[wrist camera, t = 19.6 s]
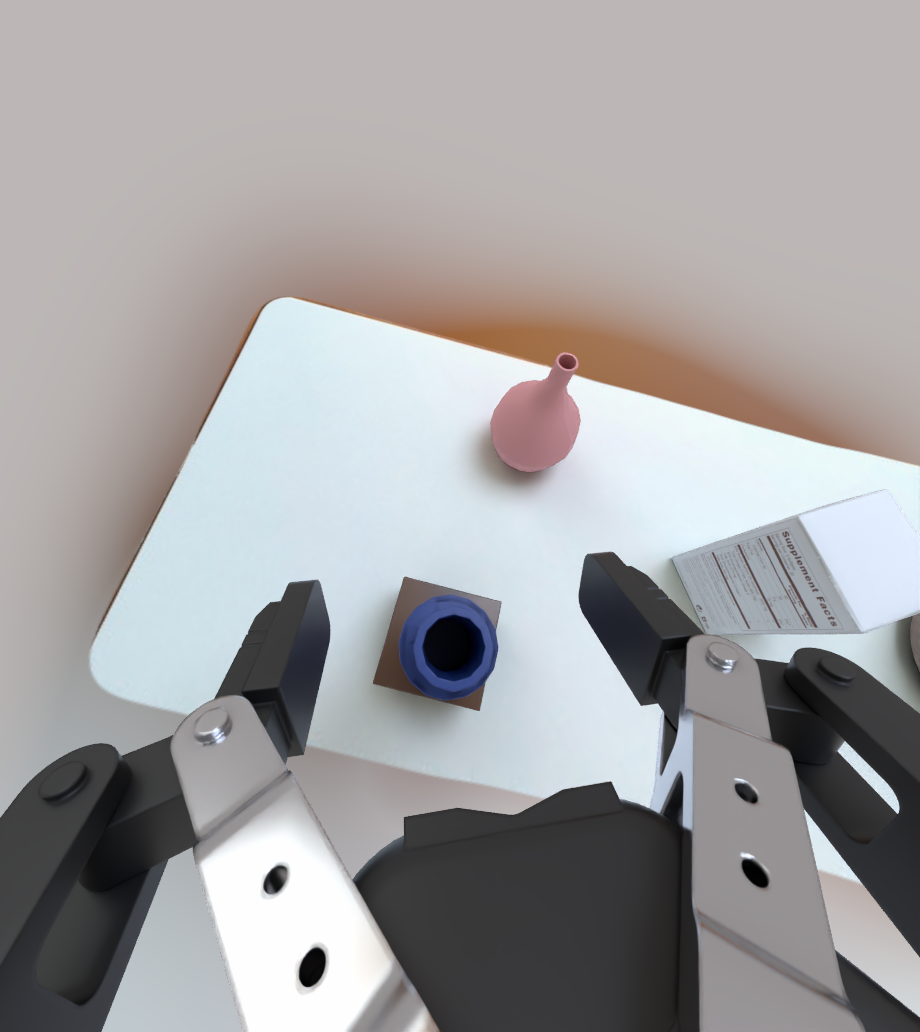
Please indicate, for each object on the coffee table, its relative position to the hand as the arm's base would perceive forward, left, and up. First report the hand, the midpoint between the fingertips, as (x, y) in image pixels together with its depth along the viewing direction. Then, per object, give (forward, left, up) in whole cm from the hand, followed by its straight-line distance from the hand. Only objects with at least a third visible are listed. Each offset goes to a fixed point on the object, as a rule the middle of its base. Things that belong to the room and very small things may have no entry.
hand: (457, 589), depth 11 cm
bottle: (0, -2, -15) cm, 15 cm away
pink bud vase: (+10, +15, -21) cm, 28 cm away
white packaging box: (+26, 0, -21) cm, 33 cm away
